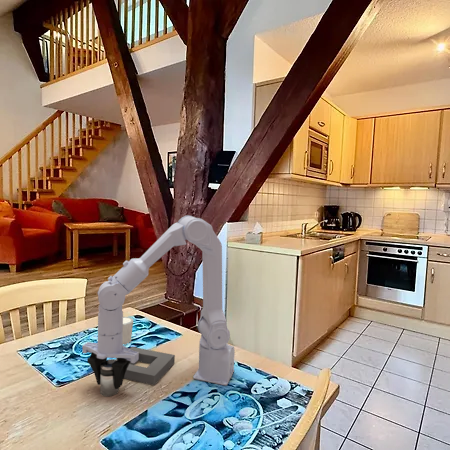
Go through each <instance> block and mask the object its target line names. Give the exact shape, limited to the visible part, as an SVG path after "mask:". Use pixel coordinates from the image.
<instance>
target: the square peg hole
mask: <svg viewBox="0 0 450 450" xmlns="http://www.w3.org/2000/svg"><path fill="white" fill-rule="evenodd" d="M129 349H131V350H133V351H136V352H139V360H137V361H136V362H135V363H131V362H130V364H129V366H128V368H127V370H126V373H125V375H124V379H123V380H130V381H133V382H139V383H141V384H142V383H143V384H146V385H152V386H155V385H157V383H158V382H159V381H160V380H161V379H162V378H163V377H164V376H165V374H166V373H167V372H169V370H170V369H171V368H172V367H173V366H174V365H175V361H176V360H175V357H176V356H175V354H172V353H166V352H163V351H162V352H161V351H155V350H150V349H146V348H141V347H135V346H131V347H130V348H129ZM115 360H117V358H115ZM138 362H140V363H143V364H148V366H146V367H145V366H142V365H138V364H137V363H138Z"/></svg>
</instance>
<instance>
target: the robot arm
mask: <svg viewBox="0 0 450 450" xmlns="http://www.w3.org/2000/svg"><path fill="white" fill-rule="evenodd" d="M186 241H188V242H189V243H191V244H194V245H195V246H196V247H197V248H198V249H200V250H201V251H202V256H201V257H202V258H201V259H202V309H200V318H199V320H198V322H197V330H198V332H199V333H200V334H201V336H200V339H199V345H198V348H199V349H198V368H197V371H196V372H195V373H194V374H193V376H192V379H193V380H198V381H203V382H207V383H211V384H217V385H222V386H228V384H229V382H230V380H231V378H232V376H233V374H234V373H235V369H234V368H235V346H233V345H230V344H228V343H229V341H230V339H231V337H230V336H231V334H230V330H229V329H228V325H227V319H226V316H225V313H224V309H223V246H222V243H221V241H220V239H219V237H218V235H217V234H216V232H215V231H214V228H213V226H212V224H210V223H209V222H207V221H206V220H204V219H202V218H201V217H200V218H199V217H195V216H193V215H184V216H182V217H181V218H180V219H179V220H178V221H177V222H175V223H173V224H172V225H171V226H170V227H169V228H168V229H167V230H166V231H165V232H164V233H163V234H162V235H160V236H159V238H158V239H157V240H156V241H155V242H154V243H153V244H152V245H150V247H149V248H148V249H147V250H146V251H145V252H144V253H143V254H142V255H141V256H140V257H139V258H136V257H135V258H134V257H133V258H131V259H130V260H128V259H127V260H125V261H124V262H123V263H122V265H123V266H122V267H121V268H120V269H119V270H118V271H117V272H116V273H114V275H109V277H108V278H107V280H108V281H104V282H103V283H102V284H101V285H100V286H99V288H98V290H97V296H98V297H97V298H98V303H99V305H98V314H97V342H86V343H83V345H82V354H87V353H90V356H89V357H87V361H86V362H87V363H88V364H89V366H90V367H91V370H92V372H93V374H94V377H95V380H96V384H97V385H98V386H100V364H101V363H102V362H103V361H105V360H108V358H109V359H115V360H116V359H117V360H116V361H115V362H114V363H112V368H113V371H114V386H115V389H118V388H119V389H120V387H122V386H123V383H124V380H125V379H124V375H125V373H126V370H127V368H128V366H129V364H130V362H131V363H135V362H136V361H137V360H139V352H136V351H133V350H131V349H130V348H129V347H126V346H125V345H123V317H124V311H123V305H124V303H125V300H126V296H127V295H129V294H130V293H131V292H133V290H134V289H135V288H136V287H138V286H139V285H140V284H141V283H142V282H143V281H144V280H145V279H146V278H147V277H148V276H149V270H150V267H152V266H153V265H154V264H155V263H156V262H157V261H159V260H160V259H161V258H162V257H163V256H164V255H166V254H167V253H168V252H169V251H170V250H171V249H172V248H173V247H178V246H186V245H187V242H186ZM233 372H234V373H233Z"/></svg>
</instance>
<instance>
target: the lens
mask: <svg viewBox="0 0 450 450" xmlns="http://www.w3.org/2000/svg"><path fill="white" fill-rule="evenodd" d="M115 361H116V358H109V359H107V360H105V361H103V362H102V363H101V364H100V385H99V394H100V395H101V396H103V397H111V396H114V395H117V394H118V393H119V391H120V387H119V388H118V389H115V386H114V371H113V368H112V363H114V362H115Z"/></svg>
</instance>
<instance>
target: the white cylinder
mask: <svg viewBox="0 0 450 450" xmlns="http://www.w3.org/2000/svg"><path fill="white" fill-rule="evenodd" d="M133 326H134V319H133V317H129V316H123V344H124V345H128V344H130V343H131V341H132V335H133ZM129 342H130V343H129ZM127 343H128V344H127Z"/></svg>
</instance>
